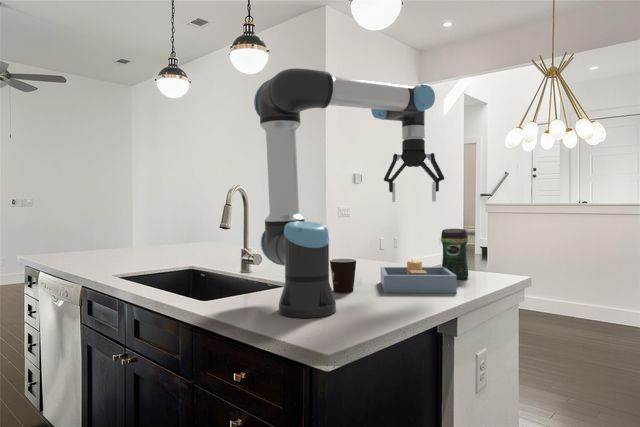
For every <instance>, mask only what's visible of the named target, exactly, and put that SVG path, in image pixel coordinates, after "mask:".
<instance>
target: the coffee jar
mask: <svg viewBox="0 0 640 427" xmlns="http://www.w3.org/2000/svg"><path fill="white" fill-rule="evenodd" d="M468 240H469V238H468V231H467V230H466V228H465V229H464V228H445V229H442V231H441V236H440V241H441V244H442V260H441V267H445V268H446V269H448V270H449V271H451V272H452V273H454V274H455V275H456V276H457V280H464V279H467V278H469V266H468V257H467V243H468Z"/></svg>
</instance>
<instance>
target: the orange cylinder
mask: <svg viewBox="0 0 640 427" xmlns="http://www.w3.org/2000/svg"><path fill="white" fill-rule="evenodd" d="M406 267H407V275H409V270H422V267H423V261H421V260H420V261H419V260H409V261H406Z"/></svg>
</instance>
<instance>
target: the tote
mask: <svg viewBox="0 0 640 427" xmlns="http://www.w3.org/2000/svg"><path fill="white" fill-rule="evenodd" d="M422 270H425V271H426V272H427V275H407V266H380V285H381V284H382V285H381V286H382V290H383V293H384V294H457V290H458V287H457V286H458V283H457V282H458V281H457V280H458V279H457V276H456V275H455V274H454V273H452V272H451V271H449V270H448V269H446V268H445V267H442V266H422Z"/></svg>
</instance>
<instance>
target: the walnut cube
mask: <svg viewBox="0 0 640 427" xmlns="http://www.w3.org/2000/svg"><path fill="white" fill-rule="evenodd" d="M409 275H427V272H426V271H425V270H409Z"/></svg>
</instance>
